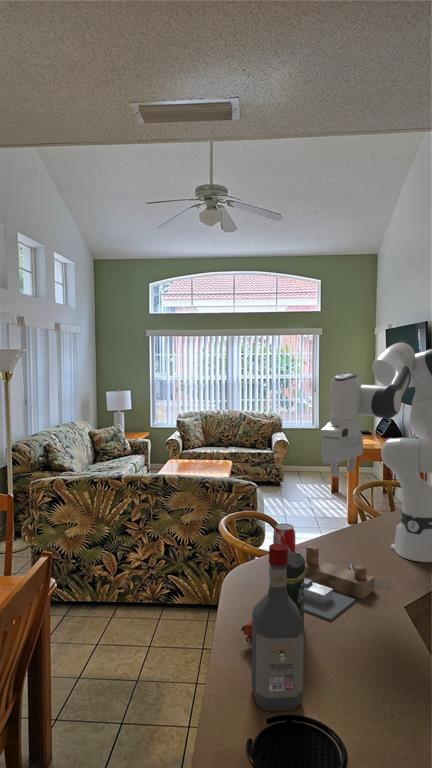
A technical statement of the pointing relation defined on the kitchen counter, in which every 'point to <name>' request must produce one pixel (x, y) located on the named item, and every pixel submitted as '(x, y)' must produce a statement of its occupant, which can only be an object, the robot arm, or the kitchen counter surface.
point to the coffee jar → (296, 580)
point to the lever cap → (317, 593)
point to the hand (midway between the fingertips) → (343, 473)
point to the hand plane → (338, 575)
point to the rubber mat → (329, 606)
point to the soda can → (285, 536)
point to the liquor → (277, 641)
